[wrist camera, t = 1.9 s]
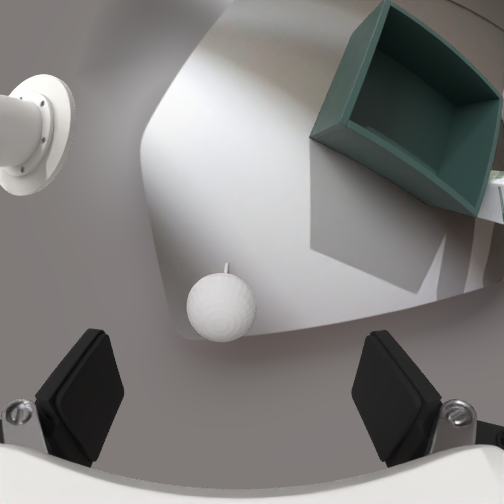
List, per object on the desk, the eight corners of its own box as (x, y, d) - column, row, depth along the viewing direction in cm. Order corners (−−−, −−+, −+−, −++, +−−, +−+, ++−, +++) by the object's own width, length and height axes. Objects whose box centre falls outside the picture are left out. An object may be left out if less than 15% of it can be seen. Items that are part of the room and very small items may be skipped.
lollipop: (203, 238, 34) (178, 285, 20) (251, 240, 35) (261, 288, 20) (203, 286, 36) (183, 355, 22) (249, 287, 36) (256, 358, 22)
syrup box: (456, 213, 35) (524, 234, 21) (448, 176, 33) (520, 186, 19) (477, 201, 34) (542, 218, 20) (470, 166, 33) (538, 173, 19)
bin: (308, 137, 32) (338, 122, 21) (352, 33, 27) (385, -3, 17) (427, 204, 34) (476, 217, 24) (457, 106, 30) (503, 98, 20)
